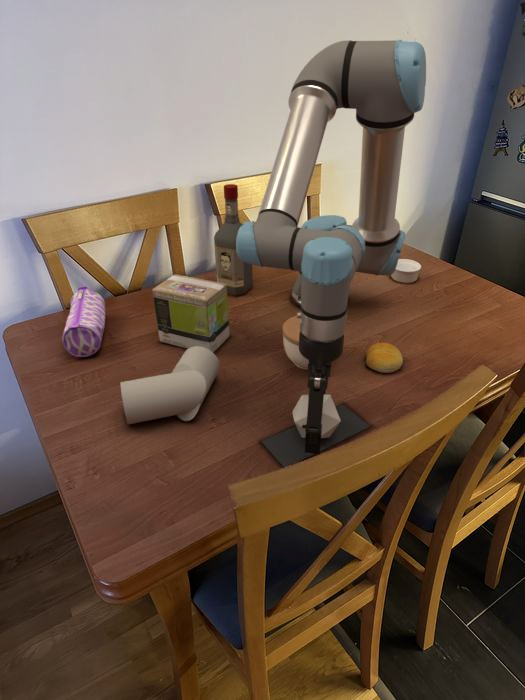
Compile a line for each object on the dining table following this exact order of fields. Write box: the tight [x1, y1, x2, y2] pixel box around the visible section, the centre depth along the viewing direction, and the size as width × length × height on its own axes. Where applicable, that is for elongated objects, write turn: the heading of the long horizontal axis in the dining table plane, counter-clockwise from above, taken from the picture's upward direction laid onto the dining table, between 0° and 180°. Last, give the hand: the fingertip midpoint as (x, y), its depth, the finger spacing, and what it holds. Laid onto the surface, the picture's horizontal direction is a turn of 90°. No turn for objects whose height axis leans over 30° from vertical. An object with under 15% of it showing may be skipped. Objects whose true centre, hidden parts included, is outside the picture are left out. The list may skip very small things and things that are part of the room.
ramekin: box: [390, 258, 422, 284], centre depth 150 cm, size 9×9×4 cm
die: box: [292, 394, 341, 438], centre depth 92 cm, size 8×9×10 cm
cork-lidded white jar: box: [282, 315, 309, 371], centre depth 111 cm, size 13×13×11 cm
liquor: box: [213, 183, 254, 297], centre depth 137 cm, size 9×9×30 cm
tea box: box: [151, 273, 230, 353], centre depth 118 cm, size 15×10×15 cm
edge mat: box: [260, 404, 371, 468], centre depth 94 cm, size 20×8×1 cm, turn 122°
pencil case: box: [61, 285, 106, 358], centre depth 121 cm, size 22×9×10 cm, turn 14°
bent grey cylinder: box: [120, 346, 221, 425], centre depth 99 cm, size 18×11×20 cm
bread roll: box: [365, 342, 404, 374], centre depth 112 cm, size 8×9×4 cm
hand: (315, 426), depth 94 cm, fingers open, 13 cm apart
